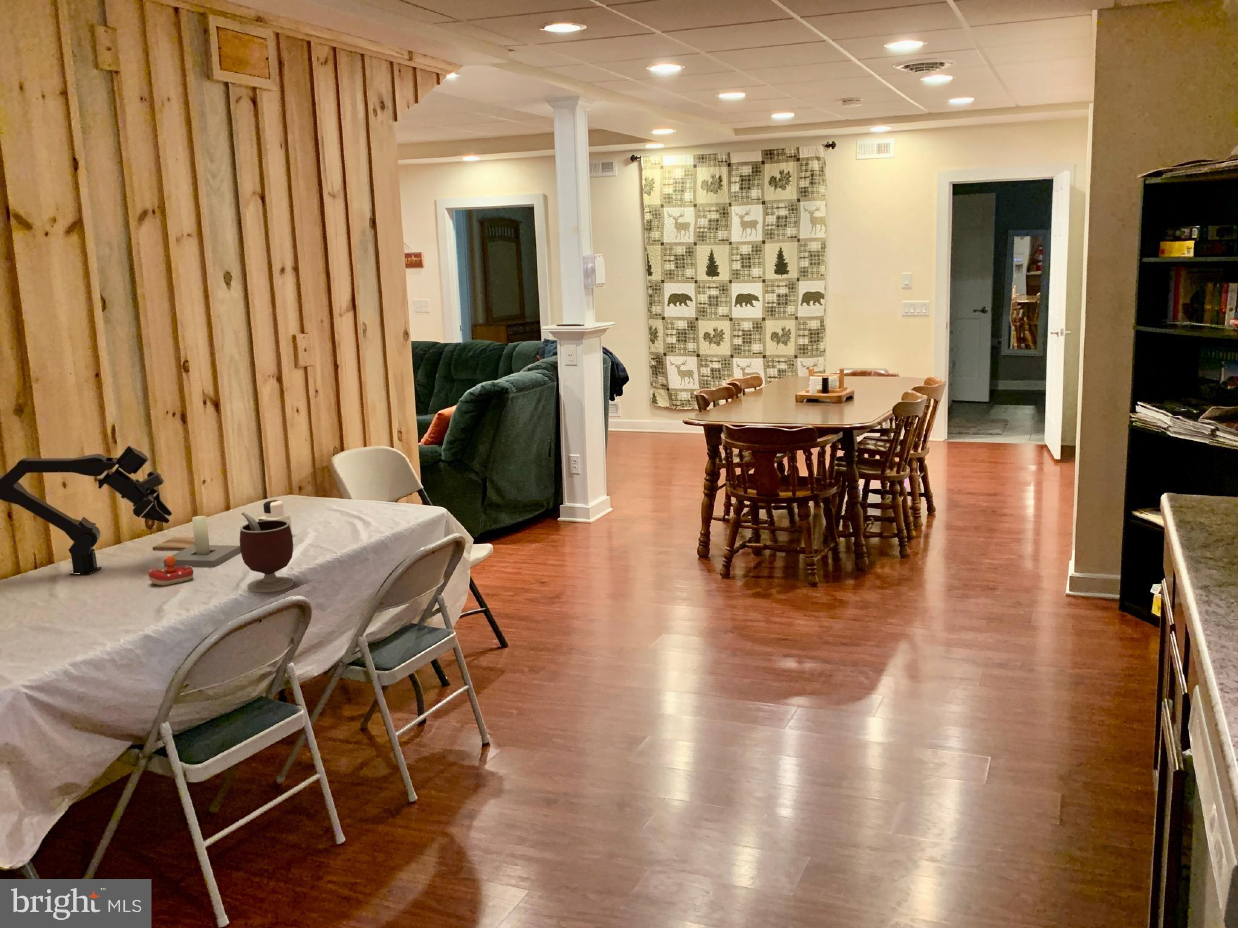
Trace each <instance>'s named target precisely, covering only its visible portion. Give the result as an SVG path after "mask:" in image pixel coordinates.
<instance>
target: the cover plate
mask: <svg viewBox="0 0 1238 928" xmlns="http://www.w3.org/2000/svg"><path fill="white" fill-rule="evenodd" d="M209 547H210V554H208V555H196V549H195V545H192V546H190V547H188V548H186V549H184V550H182V551H177V552H176V553H174V554H172V555H171V556H173V557H174V558H175V559H176V563H175V565H173V566H175V567H179V566H185V565H188V566H196V567H195V568H215V567H217V566H219V565H221V564H222V562H223V561H224V562H226V561H227V560H229V558H230V559H232V558H233V557H235V556H236V554H237V555H238V554H240V553H241V551H240V545H232V544H231V545H224V544H223V545H221V544H220V545H219V544H218V545H217V544H209ZM234 555H235V556H234ZM225 560H226V561H225ZM224 562H223V563H224ZM163 563H164V564H163V565H164V567H167V566H166V558H165V559H163ZM220 563H221V564H220ZM218 564H219V565H218Z"/></svg>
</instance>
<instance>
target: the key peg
mask: <svg viewBox="0 0 1238 928" xmlns="http://www.w3.org/2000/svg"><path fill="white" fill-rule="evenodd" d="M191 521H192V530H193V537H194V541H195V549H196V555H208V554H210V547H209V545H210V539H209V530H208V522H207V516H206V515H196V516H193V517H192V518H191Z"/></svg>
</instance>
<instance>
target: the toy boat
mask: <svg viewBox="0 0 1238 928" xmlns="http://www.w3.org/2000/svg"><path fill="white" fill-rule="evenodd" d="M165 559H166V566H165V567H166V568H165V569H153V568H151V569H150V570H148V580H149V581H150V582H151V583H153V584H155V585H158V586H162V587H165V585H166V586H170V584H171V585H174V584H175V583H176V584H181V583H185V582H188V581H190V580H192V579H193V577H194V569H193V567H190V566H188V565H185V566H173V565H175V563H176V559H175V558H174V557H173V556H172V555H168V556H166V557H165ZM184 581H185V582H184ZM176 584H175V585H176Z"/></svg>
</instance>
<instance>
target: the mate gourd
mask: <svg viewBox="0 0 1238 928" xmlns="http://www.w3.org/2000/svg"><path fill="white" fill-rule="evenodd" d="M241 515H242V516H243V517H244V519H246V521H247V523H245V524H244V525H242V526H241V527H240V532H239V546H240V551H241V552H240V553H241V554H240V555H241V558H242V560H243V561H242V562H243V563H244V564H245V565H246V567H247V568H249V569H250V571H253V572H256V573H261V574H263V575H264V576H263V578H259V579H255V580H252V581H250V582H249V583H248V584H247V585H246V586H247V590H248V591H249V592H253V593H272V592H279V591H282V590H286V589H289V588H290V587H292V586H293V585H294V582H295V581H294V579H293V578H292V577H289V576H283V575H282V576H279V575H278V576H277V575H276V572H278V571H280V570H282V569H284V568H286V567H287V566H288V565H289V563H290V561H291V560H292V558H293V554H294V553H293V552H294V538H293V532H292V533H291V529H292V528H291V529H290V526H289V522H287V521H284V520H264V521H259V520H258V521H257V520H256V519H255V518H254V517H252V516H251V515H249V514H247V513H246V512H242V513H241Z"/></svg>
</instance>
